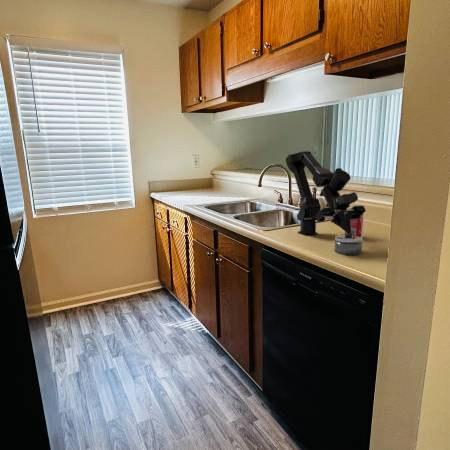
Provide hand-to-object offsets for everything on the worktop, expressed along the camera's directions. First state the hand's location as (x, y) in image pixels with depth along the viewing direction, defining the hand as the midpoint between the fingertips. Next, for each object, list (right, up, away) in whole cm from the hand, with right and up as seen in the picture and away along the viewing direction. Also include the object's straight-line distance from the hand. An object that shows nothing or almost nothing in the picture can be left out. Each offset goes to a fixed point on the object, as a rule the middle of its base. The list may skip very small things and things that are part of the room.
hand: (349, 232), depth 123 cm
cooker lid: (0, -3, +1) cm, 3 cm away
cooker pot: (0, -7, +2) cm, 7 cm away
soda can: (+10, -3, +23) cm, 25 cm away
